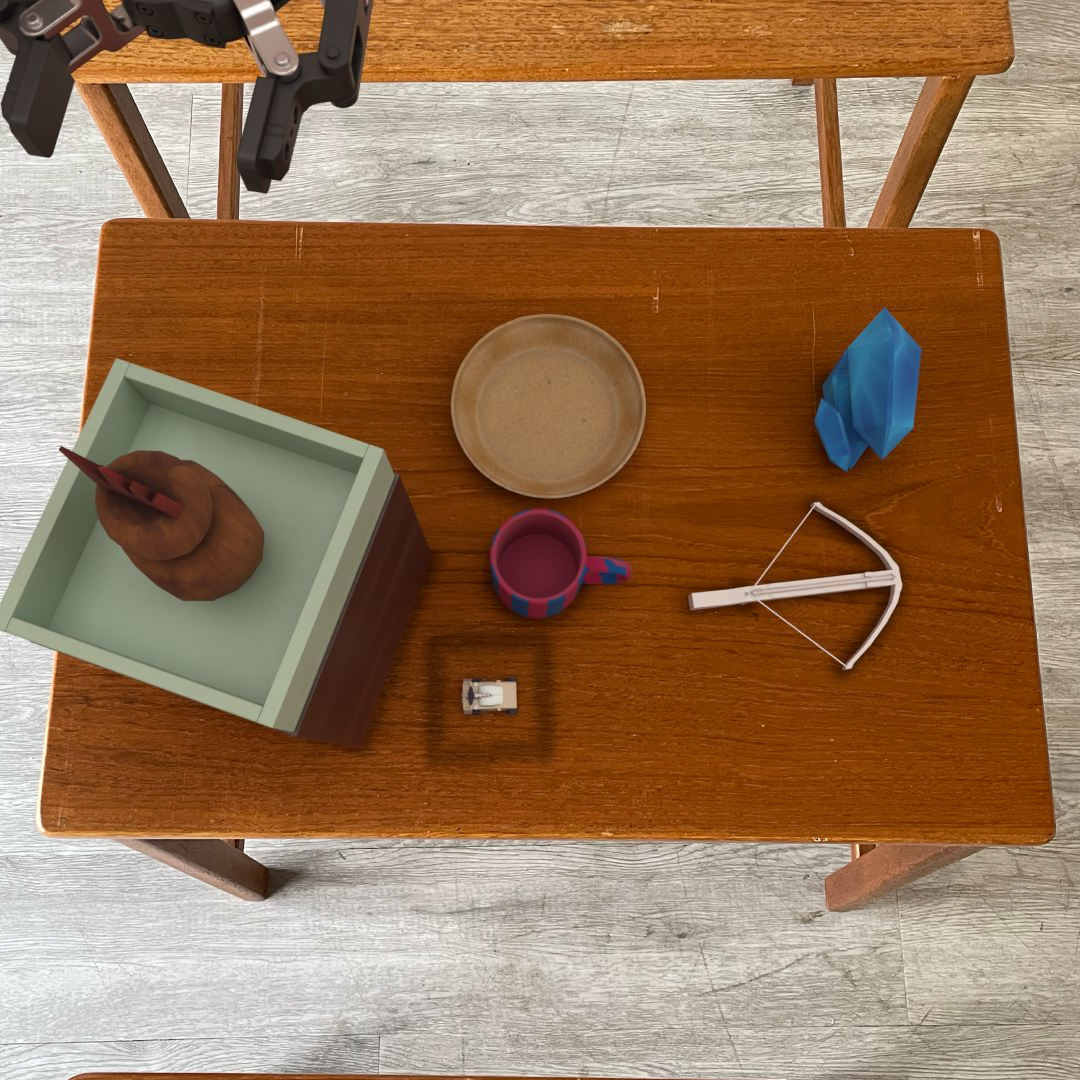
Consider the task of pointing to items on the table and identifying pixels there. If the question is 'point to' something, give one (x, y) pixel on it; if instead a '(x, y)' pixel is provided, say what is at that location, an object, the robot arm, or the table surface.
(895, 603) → the crossbow
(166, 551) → the wooden figurine
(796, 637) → the table surface
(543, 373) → the plant saucer
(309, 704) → the plinth
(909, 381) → the crystal
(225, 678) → the bin
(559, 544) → the cup
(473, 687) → the toy car
